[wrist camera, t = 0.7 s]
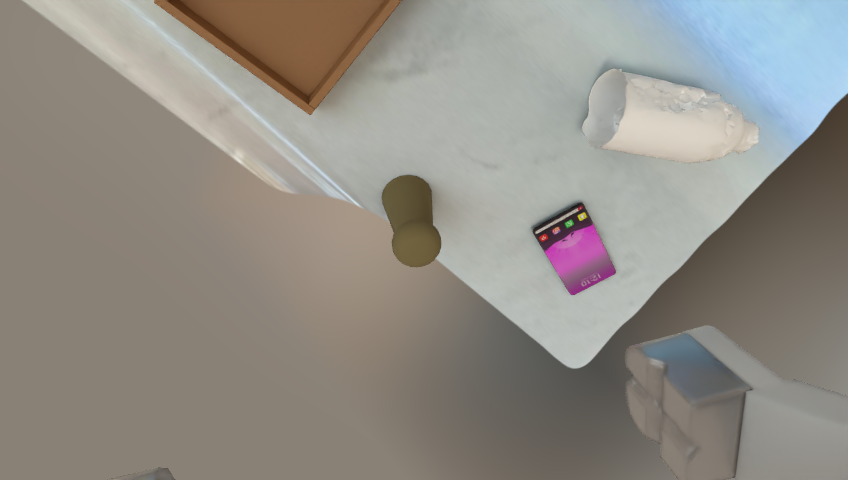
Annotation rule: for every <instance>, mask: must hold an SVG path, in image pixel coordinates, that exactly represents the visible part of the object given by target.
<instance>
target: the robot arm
mask: <svg viewBox="0 0 848 480" xmlns="http://www.w3.org/2000/svg"><path fill="white" fill-rule="evenodd" d="M625 366H626V367H627V368H628V369H629V370H630V372H631V373H632V376H631V377H630V379H629V380H628V382H627V383H626V385H625V389H626V401H627V404H628V407H629V410H630V414H631V416H632V418H633V420H634V421H635V423H636V425H637V427H638V428H639V429H640V431H641V432H642V433H643V435H644V436H645V437H647V438H648V439H650V440H652V441H654V442H657V443H659V444H661V458H662V460H663V461H664V462H665V464H666V465H667V466H668V467H669V468H670V470H671V471H672V473H673V474H674V475H675V476H676V478H677V479H678V480H726V479H730V478H734V477H735V480H848V396H846V395H843V394H840V393H837V392H833V391H830V390H827V389H824V388H821V387H817V386H814V385H811V384H808V383H805V382H802V381H798V380H795V379H793V380H789V381H784V380H783V379H781V378H780V377H779V376H778V375H776V374H775V373H774V372H772V371H771V370H770V369H769V368H767V367H766V366H765V365H763V364H762V363H761V362H759V361H758V360H757V359H756V358H754V357H753V356H752V355H750V354H749V353H748V352H747V351H745V350H744V349H743V348H741V347H740V346H739V345H737V344H736V343H735V342H733V341H732V340H731V339H730V338H728V337H727V336H726V335H724V334H723V333H722V332H720V331H719V330H718V329H717V328H715V327H712V326H708V325H706V326H703V327H699V328H696V329H692V330H689V331H685V332H681V333H680V334H675V335H671V336H668V337H664V338H660V339H656V340H653V341H649V342H645V343H641V344H638V345H633V346H630V347H628V349H627V351H626V354H625ZM107 480H175V479H174V477H173V476H172V474H171V473H170V471H169V469H168V468H160V467H159V468H155V469H151V470H146V471H142V472H138V473H133V474H129V475H125V476H120V477H116V478H112V479H107Z"/></svg>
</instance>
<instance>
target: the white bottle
mask: <svg viewBox="0 0 848 480" xmlns="http://www.w3.org/2000/svg"><path fill="white" fill-rule="evenodd" d="M588 103H589V113H588V118H586V119H585V120H584V123H583V126H582V131H583V133H584V135H585V136H586V137H587V143H588V144H589V145H590V146H591V147H593V148H604V149H610V150H616V151H622V152H625V153H631V154H638V155H645V156H650V157H655V158H661V159H667V160H673V161H678V162H684V163H696V162H701V161H705V160H707V161H710V160H715V159H719V158H721V157H723V156H725V155H727V154H728V153H729V152H730V151H735V152H737V153H738V154H739V153H741V152H745V151H746V150H748V149H749V148H750V147H752V146H753V145H755V144H756V143H757V142H758V133H759V128H758V126H757V125H756V123H754V122H750V121H748V120H746V119H744V117H743V114H742V112H741V111H740V110H739V108H737V107H735V106H733V105H732V104H731V103H730V104H727V103H726V102H725V101H723V100H722V99H721V95H719V94H718V93H716V92H713V91H708V90H703V89H701V88H696V87H690V86H685V85H681V84H674V83H671V82H668V81H665V80H661V79H656V78H651V77H647V76H643V75H639V74H633V73H627V72H622V71H621V69H619V70H617V69H613V68H612V69H611V70H609V71H607V72H605V73H604V74H602V75H601V76H600V77H599V78H598V80H597V81H596V82H595V84H594V85H593V87H592V89H591V92H590V95H589V101H588Z"/></svg>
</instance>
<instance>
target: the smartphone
mask: <svg viewBox="0 0 848 480" xmlns="http://www.w3.org/2000/svg"><path fill="white" fill-rule="evenodd" d="M533 234H534V235H535V237H536V239H537V240H538V242H539V243H540V245H541V247H542V248H543V250H544V252H545V253H546V255H547V257H548V258H549V260H550V262H551V263H552V265H553V267H554V268H555V270H556V272H557V273H558V275H559V276H560V278H561V280H562V281H563V283H564V285H565V286H566V288H567V290H568V291H569V293H570V294H571V295H575V294H577V293H579V292H581V291H583V290H585V289H587V288H589V287H590V286H592V285H594V284H596V283H598V282H600V281H602V280H604V279H606V278H608V277H610V276H612V275H614V274H615V273H616V270H615V268H614V266H613V264H612V262H611V260H610V258H609V255H608V253H607V251H606V249H605V247H604V245H603V243H602V241H601V239H600V237H599V235H598V233H597V231H596V229H595V227H594V225H593V222H592V220H591V218H590V216H589V214H588V212H587V210H586V208H585V206H584V204H583V203H579V204H577V205H575V206H573V207H572V208H570V209H568V210H566V211H564V212H563V213H561V214H559V215H557V216H555V217H554V218H552V219H550V220H548V221H546V222H545V223H543V224H541V225H539V226H538V227H536V228H534V229H533Z"/></svg>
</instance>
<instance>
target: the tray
mask: <svg viewBox="0 0 848 480" xmlns="http://www.w3.org/2000/svg"><path fill="white" fill-rule="evenodd" d="M401 1H402V0H155V1H154V3H155V4H157V5H158V6H160V7H161V8H162V9H164V10H165V11H167V12H168V13H169V14H171V15H172V16H173V17H175V18H176V19H178V20H179V21H180V22H182V23H183V24H185V25H186V26H187V27H189V28H190V29H191V30H193V31H194V32H196V33H197V34H198V35H200V36H201V37H203V38H204V39H205V40H207V41H208V42H209V43H211V44H212V45H214V46H215V47H216V48H218V49H219V50H221V51H222V52H223V53H225V54H226V55H228V56H229V57H230V58H232V59H233V60H234V61H236V62H237V63H239V64H240V65H241V66H243V67H244V68H246V69H247V70H248V71H250V72H251V73H252V74H254V75H255V76H257V77H258V78H259V79H261V80H262V81H264V82H265V83H266V84H268V85H269V86H270V87H272V88H273V89H275V90H276V91H277V92H279V93H280V94H282V95H283V96H284V97H286V98H287V99H289V100H290V101H291V102H293V103H294V104H295V105H297V106H298V107H300V108H301V109H302V110H304V111H305V112H307V113H308V114H309V115H311V114H312V113H313V111H314V110H315V109H316V108H317V106H318V105H319V104H320V103H321V101H322V100H323V99H324V98H325V96H326V95H327V94H328V93H329V91H330V90H331V89H332V88H333V86H334V85H335V84H336V82H337V81H338V80H339V79H340V77H341V76H342V75H343V74H344V72H345V71H346V70H347V69H348V67H349V66H350V65H351V64H352V62H353V61H354V60H355V59H356V57H357V56H358V55H359V54H360V52H361V51H362V50H363V49H364V47H365V46H366V45H367V44H368V42H369V41H370V40H371V39H372V37H373V36H374V35H375V34H376V32H377V31H378V30H379V29H380V27H381V26H382V25H383V23H384V22H385V21H386V20H387V18H388V17H389V16H390V15H391V13H392V12H393V11H394V10H395V8H396V7H397V6H398V5H399V3H400V2H401Z"/></svg>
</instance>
